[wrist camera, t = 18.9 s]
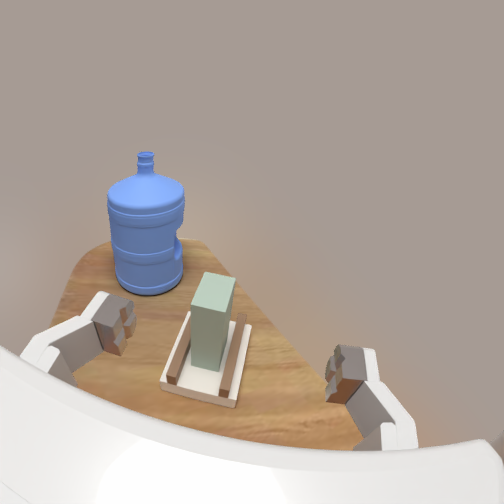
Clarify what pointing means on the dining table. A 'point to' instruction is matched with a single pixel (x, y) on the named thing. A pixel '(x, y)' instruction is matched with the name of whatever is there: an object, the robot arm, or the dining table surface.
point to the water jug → (146, 229)
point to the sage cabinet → (211, 320)
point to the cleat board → (202, 380)
